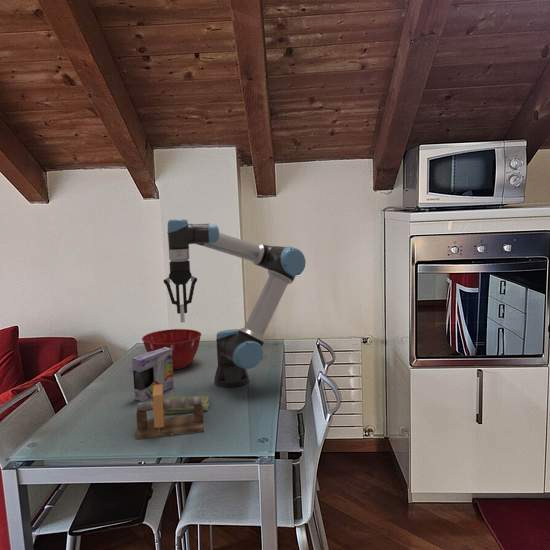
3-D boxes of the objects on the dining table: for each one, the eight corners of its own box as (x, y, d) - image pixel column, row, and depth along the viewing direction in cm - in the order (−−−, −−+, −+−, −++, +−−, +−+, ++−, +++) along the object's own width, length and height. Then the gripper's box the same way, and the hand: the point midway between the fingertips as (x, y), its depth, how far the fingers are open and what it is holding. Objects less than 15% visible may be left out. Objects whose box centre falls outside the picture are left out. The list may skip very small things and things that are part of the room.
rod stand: (202, 417, 175) (200, 390, 174) (204, 431, 164) (202, 402, 162) (139, 424, 171) (137, 396, 170) (136, 439, 159) (134, 409, 158)
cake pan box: (140, 403, 192) (137, 359, 190) (131, 400, 194) (128, 357, 192) (175, 388, 208) (172, 347, 206) (166, 386, 210) (164, 346, 208)
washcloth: (209, 413, 180) (208, 404, 180) (160, 416, 178) (160, 408, 178) (209, 400, 193) (209, 392, 193) (164, 403, 191) (163, 395, 191)
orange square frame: (164, 414, 172) (162, 384, 171) (163, 426, 161) (161, 394, 160) (155, 415, 171) (153, 384, 170) (154, 427, 161) (152, 395, 159)
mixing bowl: (208, 369, 232) (207, 338, 230) (147, 378, 221) (145, 345, 220) (195, 355, 258) (194, 326, 256) (140, 362, 247) (138, 332, 246)
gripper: (161, 262, 179) (165, 324, 181) (197, 260, 181) (200, 322, 184) (162, 260, 186) (165, 321, 189) (196, 258, 189) (199, 318, 191)
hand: (182, 321), depth 186 cm, fingers closed
